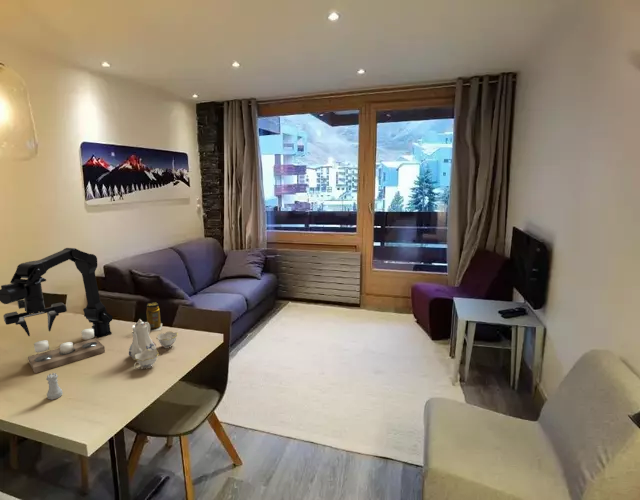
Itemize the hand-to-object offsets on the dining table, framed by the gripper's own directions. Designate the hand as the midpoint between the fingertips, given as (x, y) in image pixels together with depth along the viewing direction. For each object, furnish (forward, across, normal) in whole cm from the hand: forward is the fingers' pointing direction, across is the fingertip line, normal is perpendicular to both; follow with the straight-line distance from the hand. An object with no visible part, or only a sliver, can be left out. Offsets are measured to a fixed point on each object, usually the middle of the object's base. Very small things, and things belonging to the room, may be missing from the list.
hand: (39, 333), depth 142 cm
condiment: (+13, -45, -5) cm, 47 cm away
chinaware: (+13, -32, +23) cm, 42 cm away
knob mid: (+10, -8, 0) cm, 13 cm away
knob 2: (+7, -16, 0) cm, 17 cm away
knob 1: (+7, 0, 0) cm, 7 cm away
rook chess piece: (+13, +2, +29) cm, 32 cm away
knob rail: (+13, -8, 0) cm, 15 cm away
